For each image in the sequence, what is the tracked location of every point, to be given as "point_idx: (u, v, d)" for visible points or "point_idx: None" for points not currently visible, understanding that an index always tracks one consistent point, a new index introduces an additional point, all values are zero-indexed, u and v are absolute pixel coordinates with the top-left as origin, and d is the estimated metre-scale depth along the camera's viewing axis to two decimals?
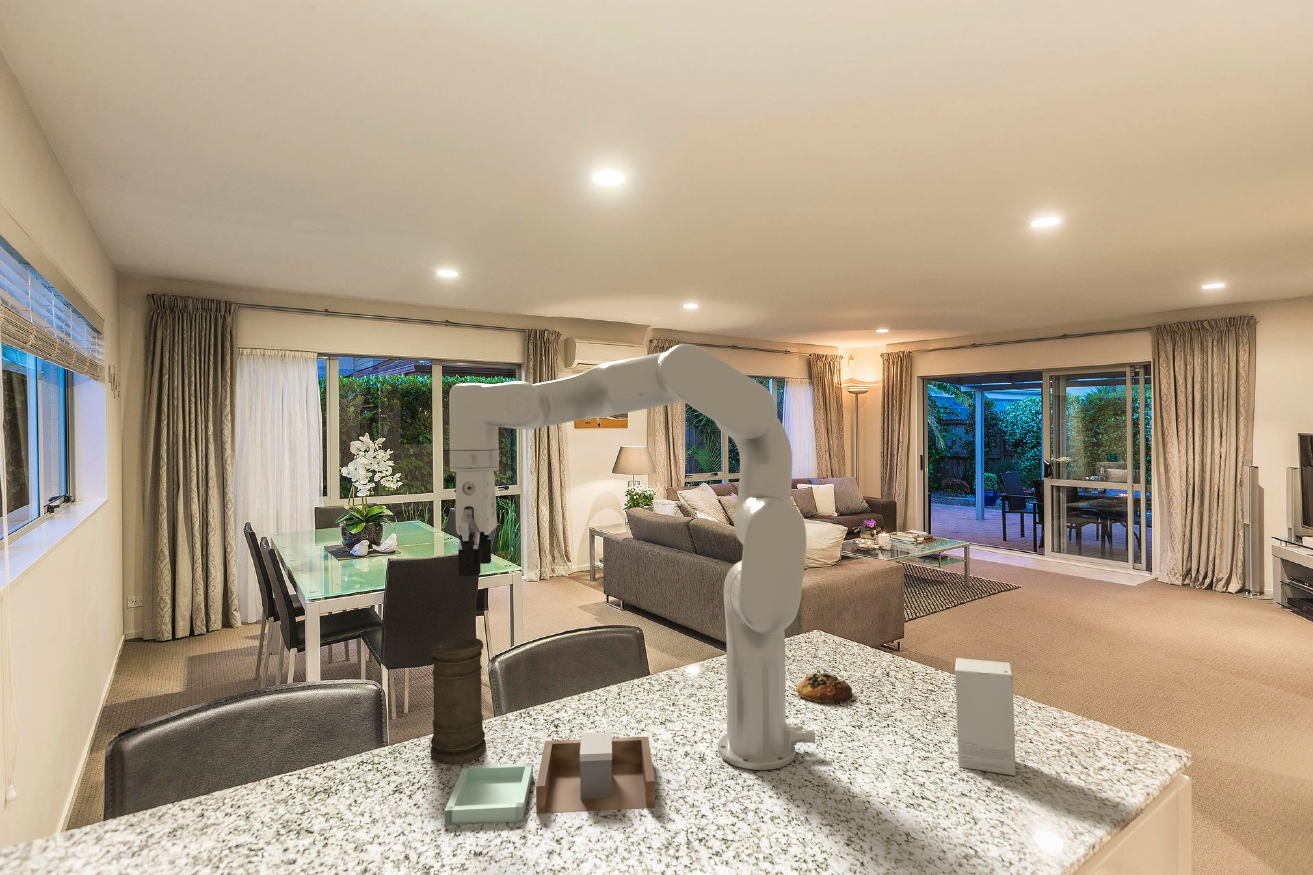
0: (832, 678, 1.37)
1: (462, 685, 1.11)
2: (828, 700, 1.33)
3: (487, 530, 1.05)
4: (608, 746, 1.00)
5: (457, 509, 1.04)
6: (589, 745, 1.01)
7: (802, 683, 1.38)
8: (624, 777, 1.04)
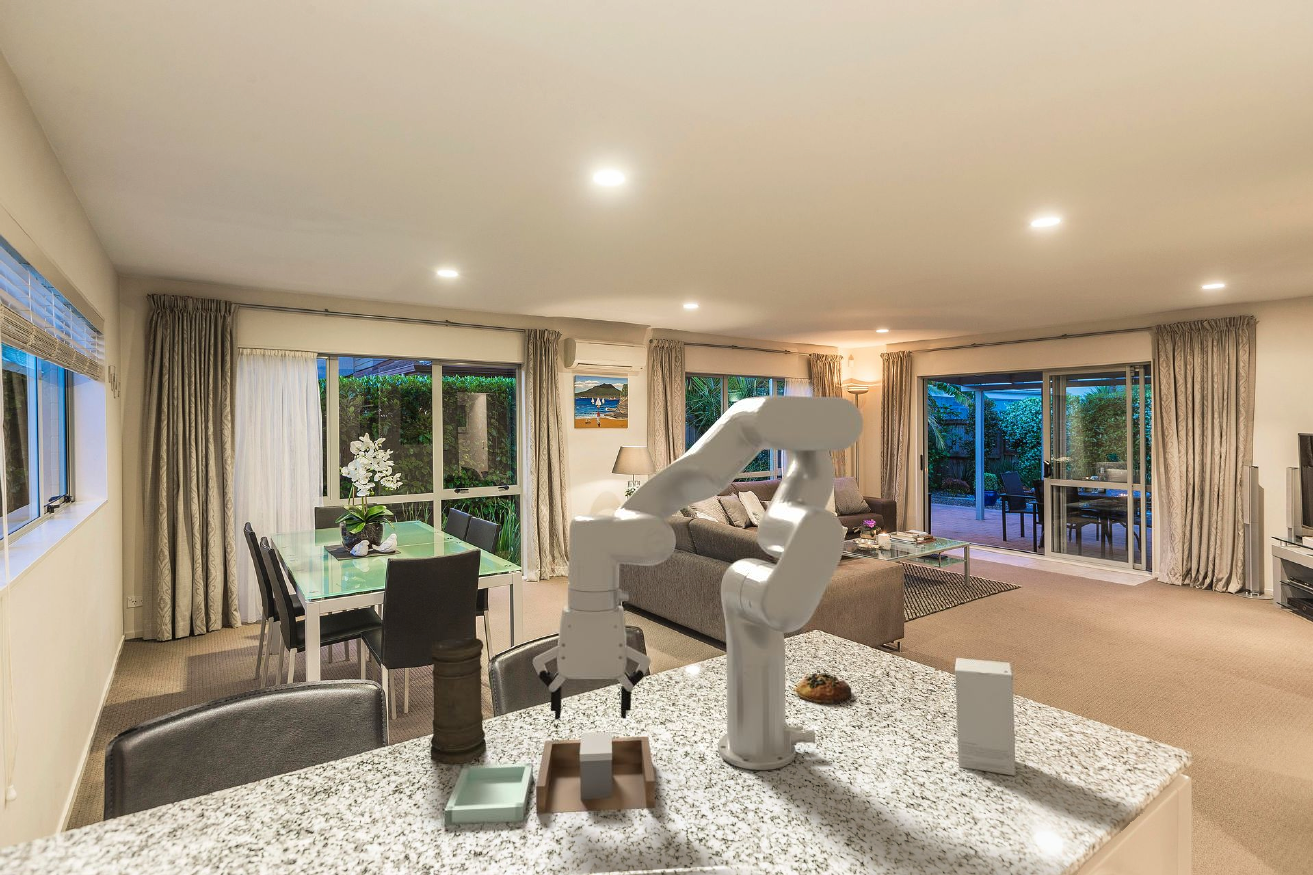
0: (831, 678, 1.37)
1: (462, 685, 1.11)
2: (827, 700, 1.33)
3: None
4: (608, 746, 1.00)
5: (625, 650, 1.00)
6: (589, 745, 1.01)
7: (801, 683, 1.38)
8: (624, 777, 1.04)
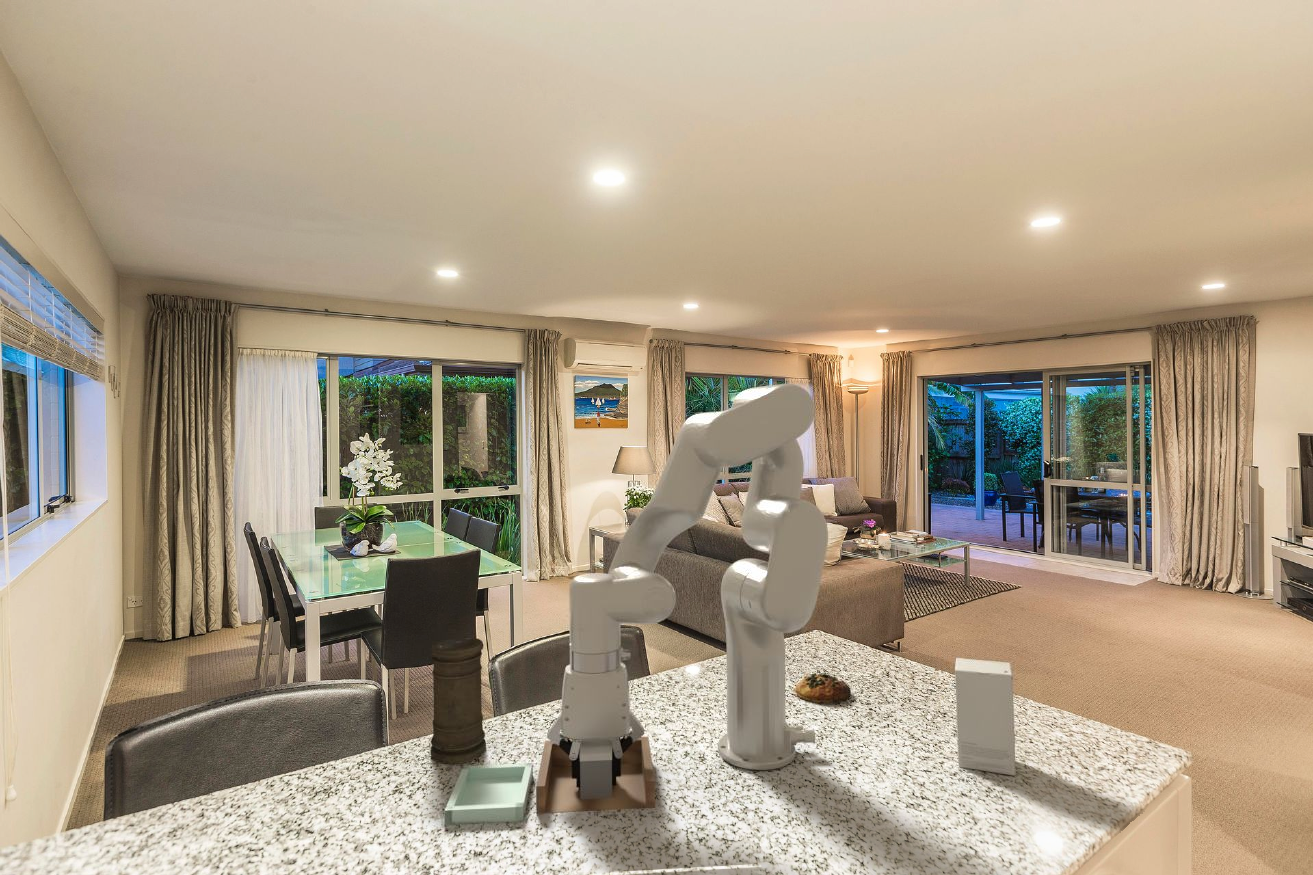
0: (831, 678, 1.37)
1: (462, 685, 1.11)
2: (826, 700, 1.32)
3: None
4: (608, 746, 1.00)
5: (629, 709, 1.00)
6: (589, 745, 1.01)
7: (801, 683, 1.38)
8: (624, 777, 1.04)
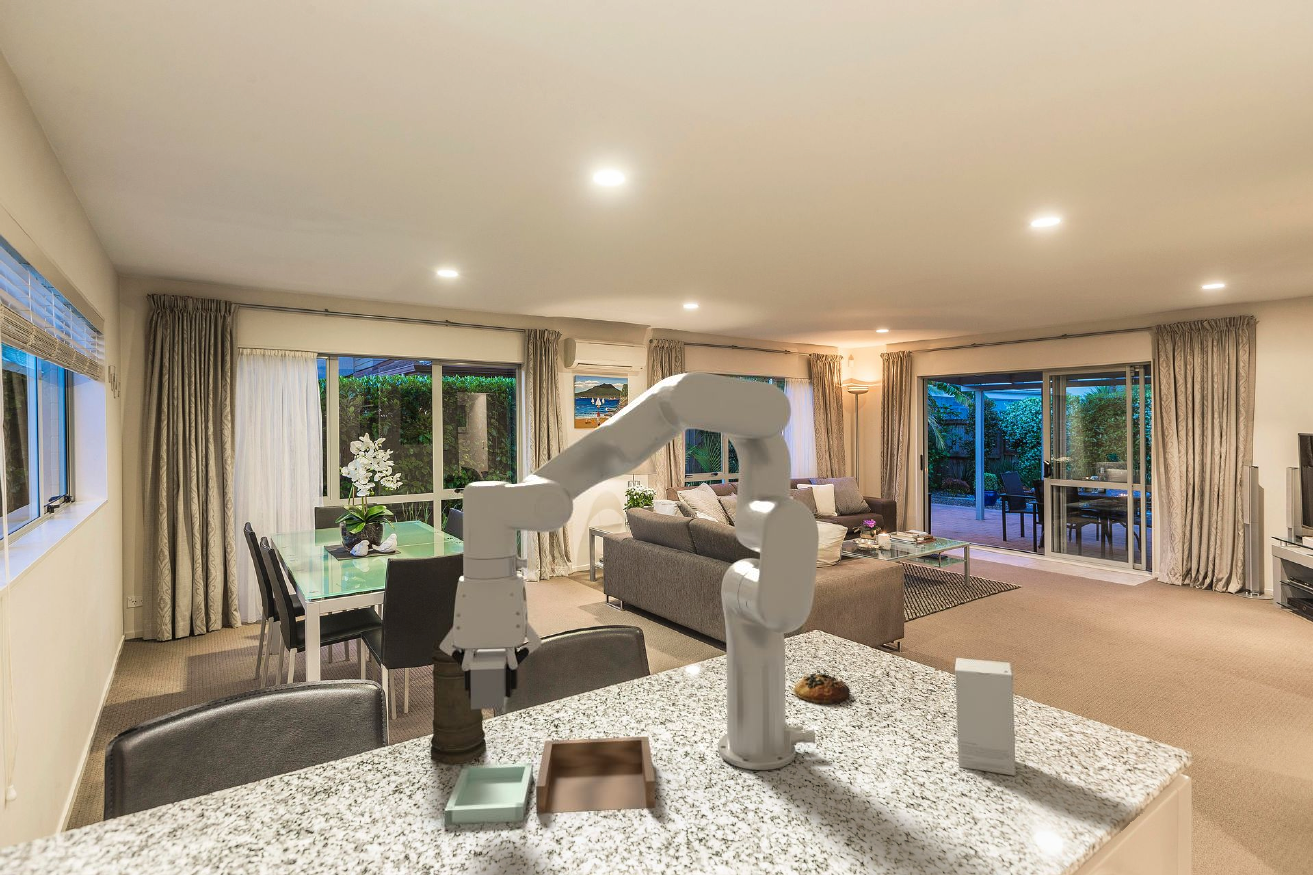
0: (830, 678, 1.37)
1: (462, 685, 1.11)
2: (825, 700, 1.32)
3: None
4: (502, 656, 0.97)
5: (523, 619, 0.97)
6: (483, 655, 0.98)
7: (800, 683, 1.38)
8: (624, 777, 1.04)
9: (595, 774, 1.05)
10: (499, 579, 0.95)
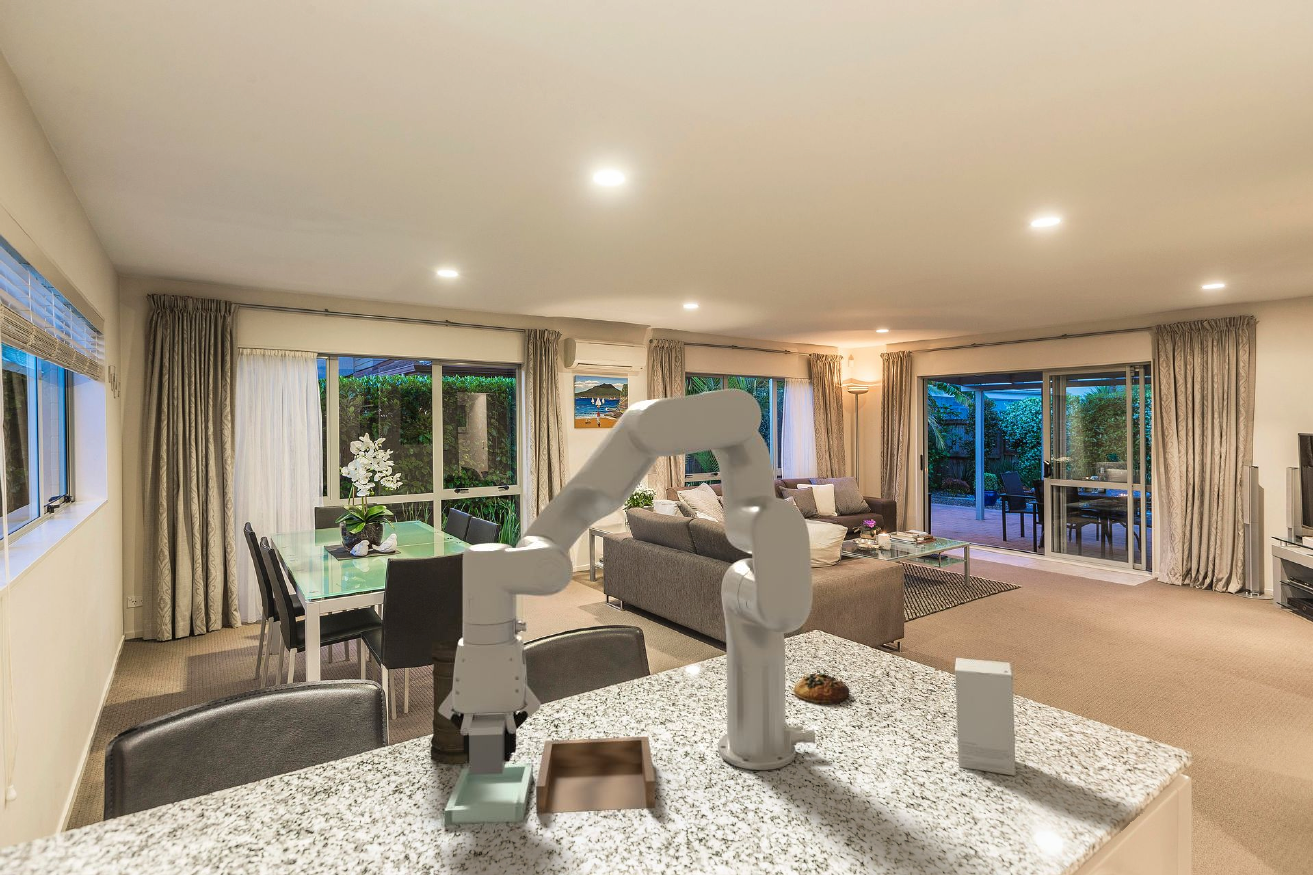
0: (829, 678, 1.37)
1: None
2: (825, 700, 1.32)
3: None
4: (501, 720, 0.97)
5: (522, 683, 0.97)
6: (482, 719, 0.98)
7: (799, 683, 1.38)
8: (624, 777, 1.04)
9: (595, 774, 1.05)
10: (498, 644, 0.95)
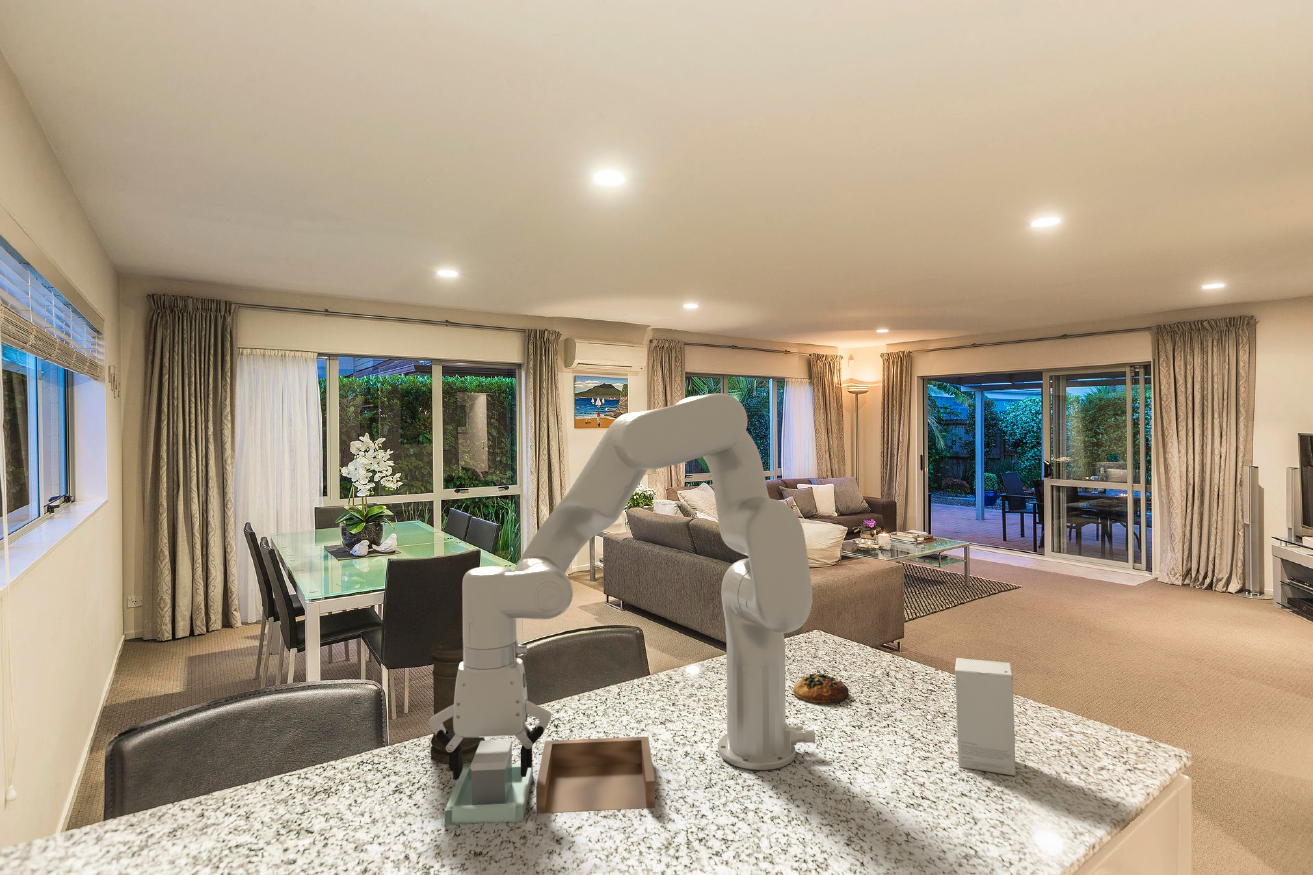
0: (828, 678, 1.37)
1: None
2: (824, 700, 1.32)
3: None
4: (503, 755, 0.97)
5: (523, 706, 0.97)
6: (484, 753, 0.98)
7: (798, 683, 1.38)
8: (624, 777, 1.04)
9: (595, 774, 1.05)
10: (499, 669, 0.95)
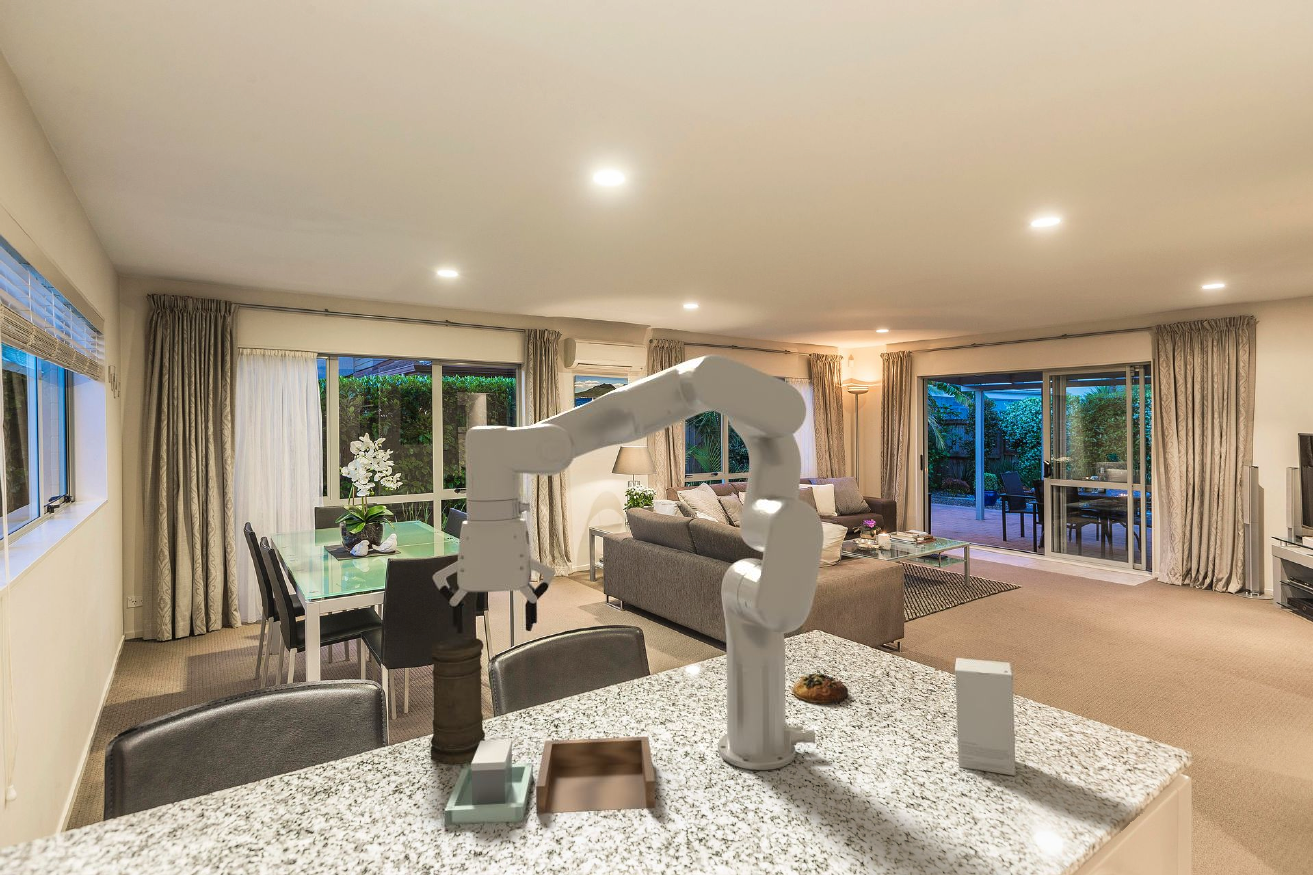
0: (828, 678, 1.37)
1: (462, 685, 1.11)
2: (823, 701, 1.32)
3: None
4: (503, 755, 0.97)
5: (527, 561, 0.98)
6: (484, 753, 0.98)
7: (798, 683, 1.38)
8: (624, 777, 1.04)
9: (595, 774, 1.05)
10: (502, 521, 0.96)
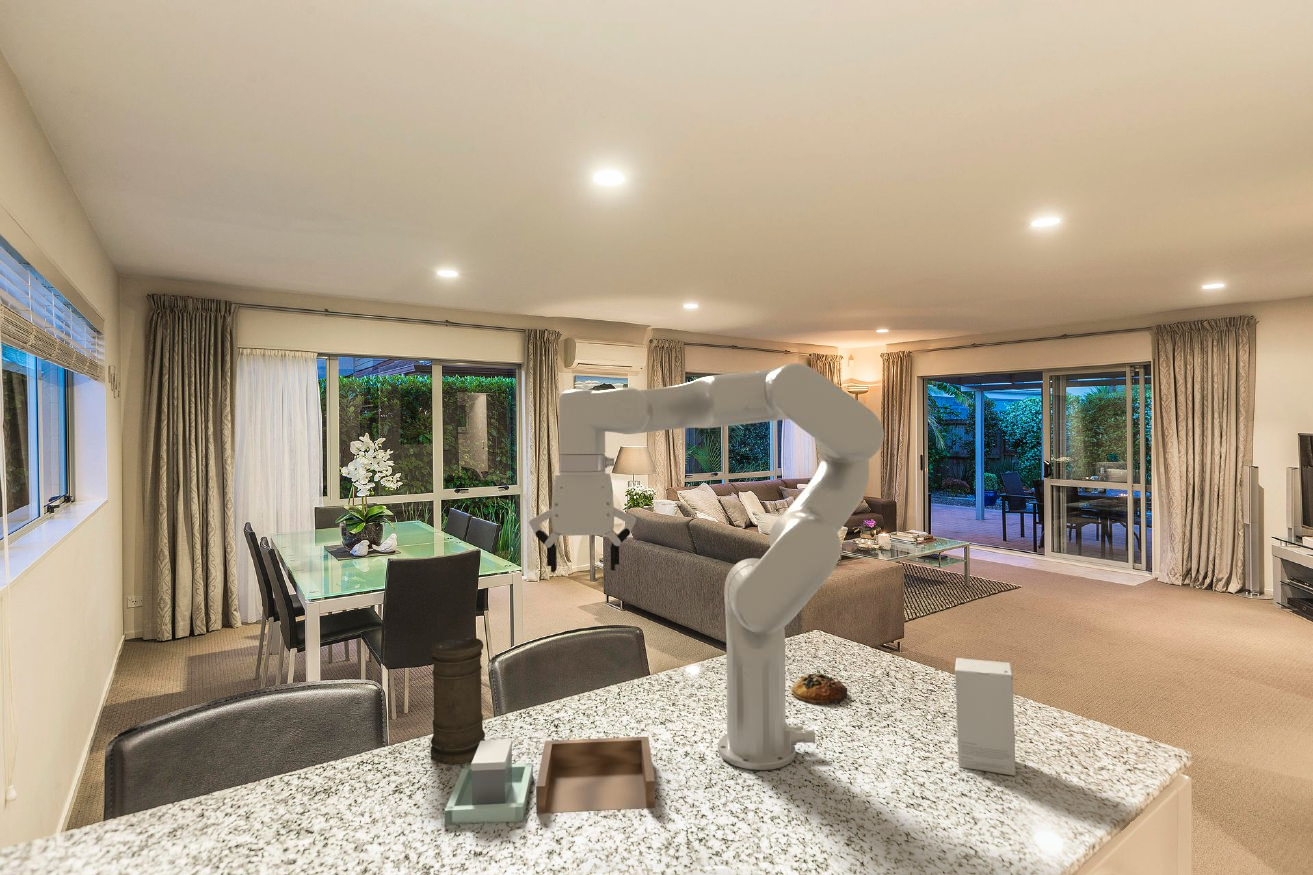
0: (827, 678, 1.37)
1: (462, 685, 1.11)
2: (823, 700, 1.32)
3: None
4: (503, 755, 0.97)
5: (612, 509, 1.11)
6: (484, 753, 0.98)
7: (797, 683, 1.38)
8: (624, 777, 1.04)
9: (595, 774, 1.05)
10: (593, 472, 1.09)
